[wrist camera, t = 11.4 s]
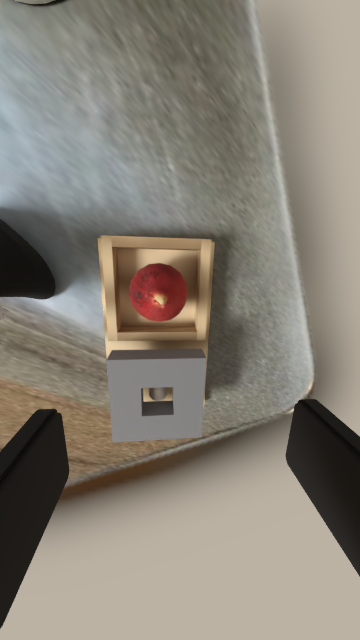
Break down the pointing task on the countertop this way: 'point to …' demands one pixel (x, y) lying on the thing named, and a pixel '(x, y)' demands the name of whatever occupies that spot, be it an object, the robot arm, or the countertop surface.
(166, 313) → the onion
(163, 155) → the countertop surface
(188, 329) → the wooden tray
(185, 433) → the gray holed slab
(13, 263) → the toy
